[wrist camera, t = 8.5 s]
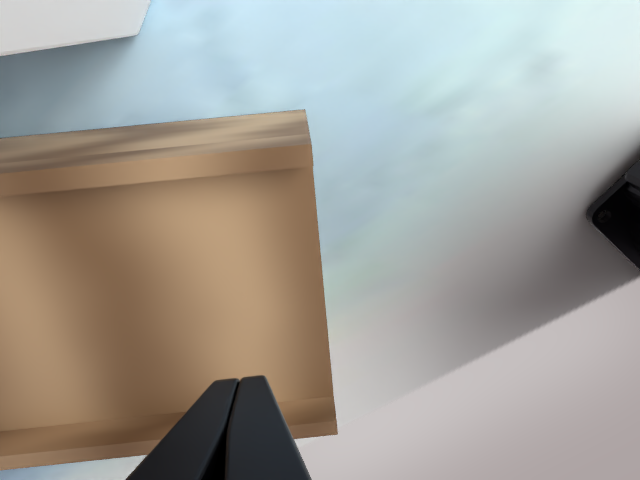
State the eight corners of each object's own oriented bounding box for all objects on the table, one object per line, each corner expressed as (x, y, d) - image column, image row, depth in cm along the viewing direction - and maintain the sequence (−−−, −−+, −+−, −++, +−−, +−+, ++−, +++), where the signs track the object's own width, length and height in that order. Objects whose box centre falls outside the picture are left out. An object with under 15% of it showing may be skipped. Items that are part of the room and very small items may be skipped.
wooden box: (304, 109, 18) (311, 143, 13) (326, 344, 22) (337, 434, 17) (-68, 144, 18) (-196, 192, 13) (23, 375, 22) (-49, 475, 17)
